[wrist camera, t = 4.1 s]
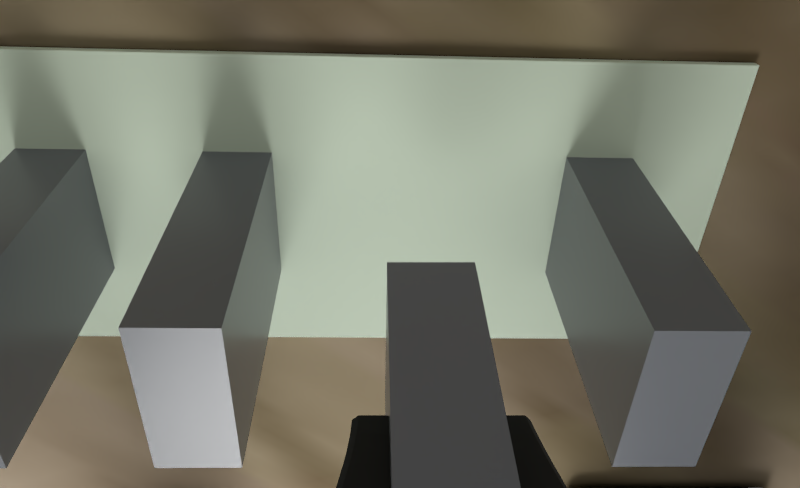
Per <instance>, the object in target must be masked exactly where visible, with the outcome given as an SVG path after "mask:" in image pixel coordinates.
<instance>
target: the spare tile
mask: <svg viewBox="0 0 800 488" xmlns="http://www.w3.org/2000/svg"><path fill="white" fill-rule="evenodd" d="M385 410H386V416H389V434H390V469H391V488H521V486H520V481H519V476H518V471H517V466H516V461H515V456H514V452H513V447H512V442H511V437H510V432H509V427H508V422H507V417H506V412H505V407H504V402H503V397H502V393H501V388H500V383H499V378H498V373H497V368H496V363H495V358H494V353H493V348H492V343H491V338H490V333H489V329H488V324H487V319H486V314H485V309H484V304H483V299H482V294H481V289H480V284H479V279H478V274H477V270H476V265H475V262H387V295H386V374H385Z"/></svg>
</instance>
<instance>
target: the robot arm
mask: <svg viewBox="0 0 800 488" xmlns="http://www.w3.org/2000/svg"><path fill="white" fill-rule="evenodd" d="M506 417H507V422H508V427H509V432H510V437H511V442H512V447H513V452H514V456H515V461H516V466H517V471H518V476H519V481H520V486H521V488H567V487H566V485H565V484H564V482H563V480H562V479H561V477H560V475H559V473H558V472H557V470H556V468H555V466H554V465H553V463H552V461H551V459H550V458H549V456H548V454H547V452H546V450H545V448H544V446H543V445H542V443H541V441H540V439H539V437H538V435H537V433H536V431H535V429H534V427H533V425H532V423H531V421H530V420H529V419H528V418H527V417H526V416H506ZM336 488H391V469H390V434H389V416H357V417H356V418H354V419H353V420H352V425H351V433H350V438H349V443H348V448H347V452H346V456H345V460H344V464H343V467H342V470H341V474H340V477H339V480H338V483H337V487H336ZM750 488H761V487H750Z"/></svg>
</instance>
